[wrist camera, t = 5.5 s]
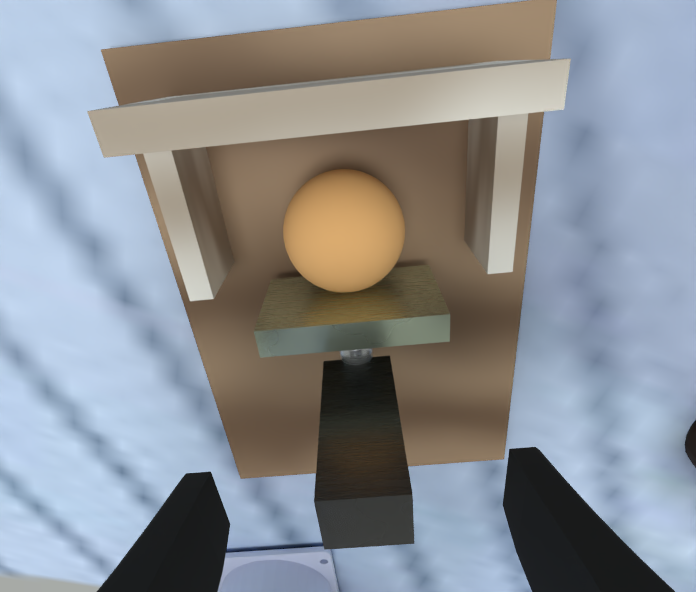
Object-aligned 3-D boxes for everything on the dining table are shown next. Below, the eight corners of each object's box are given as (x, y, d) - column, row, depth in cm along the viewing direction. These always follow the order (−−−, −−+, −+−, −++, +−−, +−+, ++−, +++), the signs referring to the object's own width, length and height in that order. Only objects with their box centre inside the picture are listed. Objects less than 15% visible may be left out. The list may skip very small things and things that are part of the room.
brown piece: (500, 451, 23) (543, 556, 18) (242, 470, 23) (216, 577, 18) (549, -1, 13) (671, -39, 8) (108, 50, 14) (-22, 41, 9)
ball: (416, 228, 11) (398, 136, 13) (266, 243, 11) (273, 149, 14) (410, 309, 14) (396, 224, 17) (294, 320, 15) (296, 234, 17)
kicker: (429, 367, 18) (481, 550, 11) (291, 379, 18) (261, 564, 12) (429, 264, 16) (493, 415, 9) (271, 279, 16) (218, 437, 9)
